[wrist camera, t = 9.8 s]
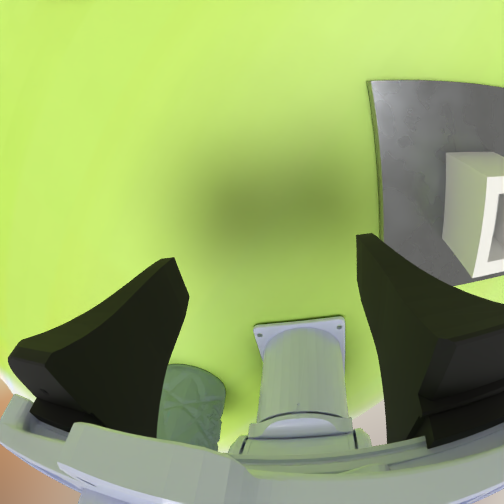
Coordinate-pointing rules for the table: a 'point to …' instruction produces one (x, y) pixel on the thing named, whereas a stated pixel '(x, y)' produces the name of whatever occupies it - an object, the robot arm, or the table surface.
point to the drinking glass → (191, 407)
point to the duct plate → (428, 161)
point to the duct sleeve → (475, 210)
